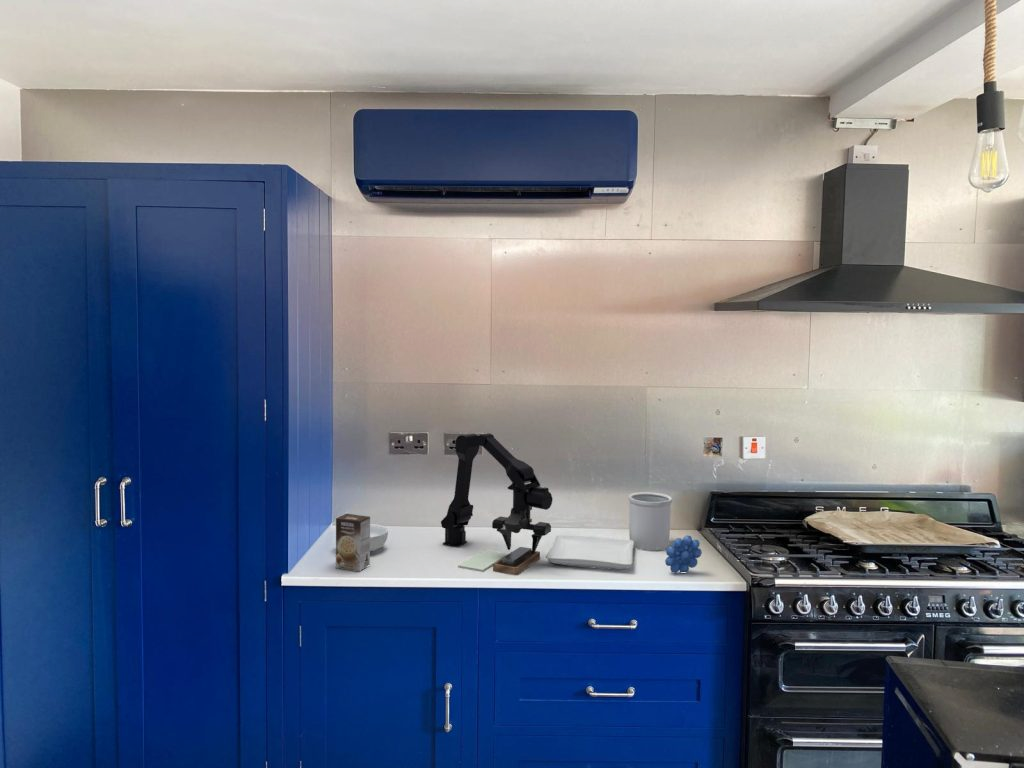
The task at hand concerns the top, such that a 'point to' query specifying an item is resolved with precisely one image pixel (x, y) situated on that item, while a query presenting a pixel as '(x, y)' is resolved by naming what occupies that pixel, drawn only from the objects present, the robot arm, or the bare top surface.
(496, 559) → the sage mat
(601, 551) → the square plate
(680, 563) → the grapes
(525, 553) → the gunmetal bar
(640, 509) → the utensil holder
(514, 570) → the walnut slot tray
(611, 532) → the top surface
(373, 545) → the cereal bowl
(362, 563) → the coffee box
